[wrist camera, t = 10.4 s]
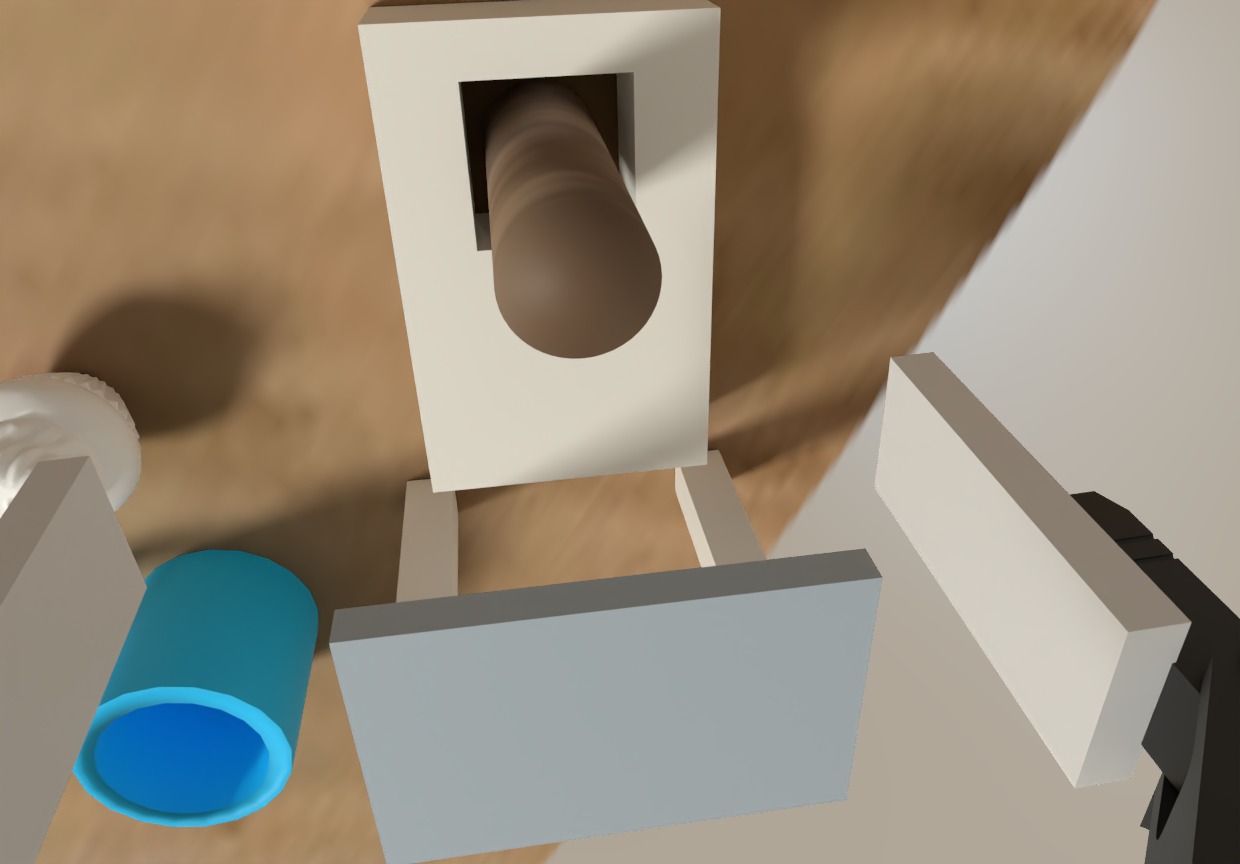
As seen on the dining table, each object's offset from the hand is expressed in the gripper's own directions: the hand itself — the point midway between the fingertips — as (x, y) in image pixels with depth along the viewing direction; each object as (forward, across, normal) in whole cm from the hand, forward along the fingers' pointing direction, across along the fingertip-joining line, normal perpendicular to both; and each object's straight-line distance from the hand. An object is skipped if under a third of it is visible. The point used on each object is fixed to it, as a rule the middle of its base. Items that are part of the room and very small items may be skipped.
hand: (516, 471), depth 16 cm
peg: (+21, +2, 0) cm, 22 cm away
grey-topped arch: (+21, +2, -12) cm, 24 cm away
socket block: (+21, +2, -5) cm, 22 cm away
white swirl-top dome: (+22, -17, -9) cm, 29 cm away
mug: (+22, -16, -20) cm, 34 cm away
